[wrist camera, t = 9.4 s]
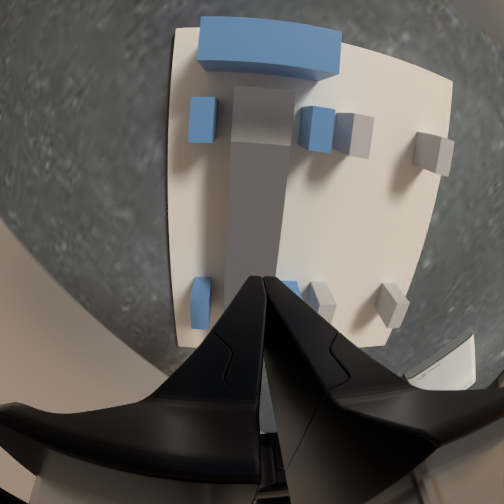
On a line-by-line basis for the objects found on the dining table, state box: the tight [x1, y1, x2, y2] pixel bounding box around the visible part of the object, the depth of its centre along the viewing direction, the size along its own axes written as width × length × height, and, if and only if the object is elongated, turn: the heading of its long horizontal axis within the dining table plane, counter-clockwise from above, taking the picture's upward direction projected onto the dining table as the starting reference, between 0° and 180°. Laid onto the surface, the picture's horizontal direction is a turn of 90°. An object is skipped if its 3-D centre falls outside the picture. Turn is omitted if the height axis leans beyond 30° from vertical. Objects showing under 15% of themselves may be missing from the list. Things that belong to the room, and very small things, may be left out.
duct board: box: [168, 16, 455, 348], centre depth 15 cm, size 20×16×4 cm
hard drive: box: [404, 328, 476, 390], centre depth 25 cm, size 2×8×12 cm
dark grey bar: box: [224, 86, 296, 311], centre depth 15 cm, size 13×2×2 cm, turn 176°
